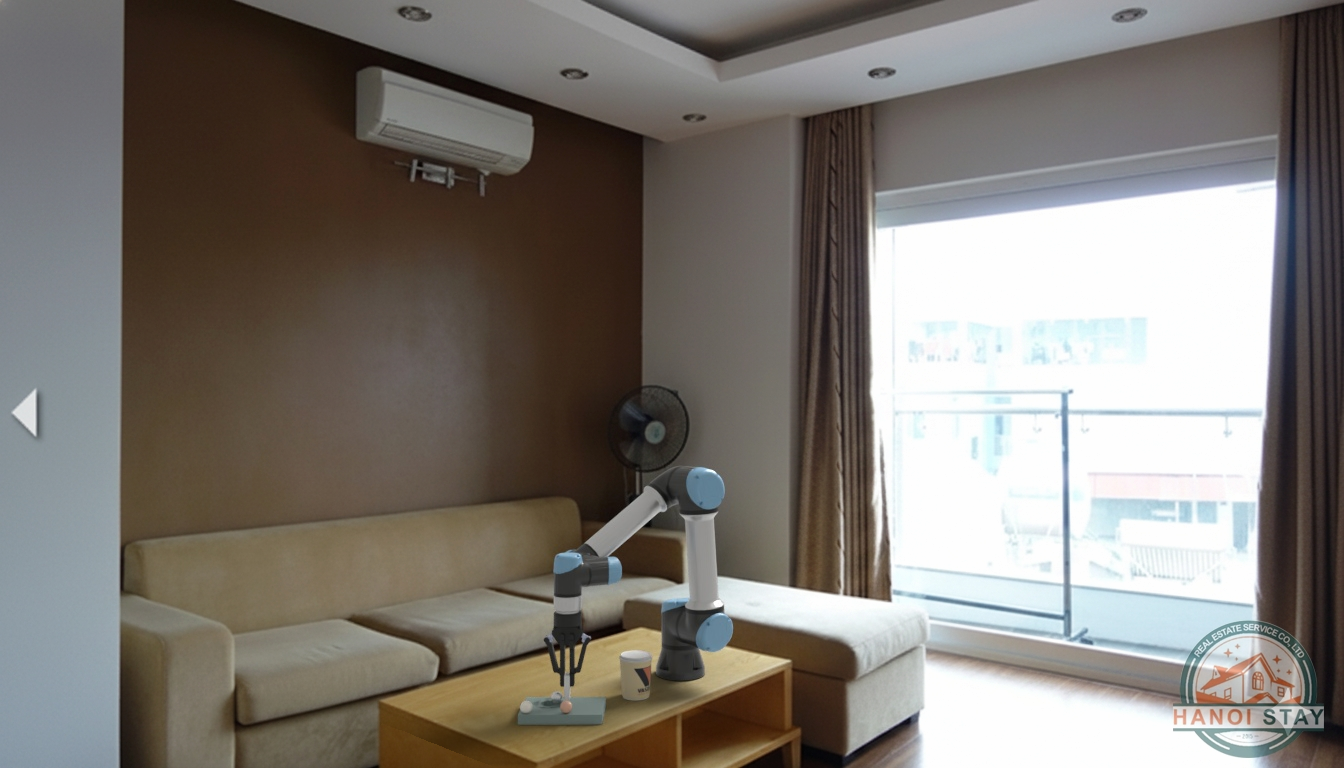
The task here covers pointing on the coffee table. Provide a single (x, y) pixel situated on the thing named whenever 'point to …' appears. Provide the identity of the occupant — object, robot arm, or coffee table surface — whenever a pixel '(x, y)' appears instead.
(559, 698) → the steel ball
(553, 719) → the board
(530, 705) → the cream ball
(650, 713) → the coffee table surface
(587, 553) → the robot arm
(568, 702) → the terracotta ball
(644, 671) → the coffee cup
